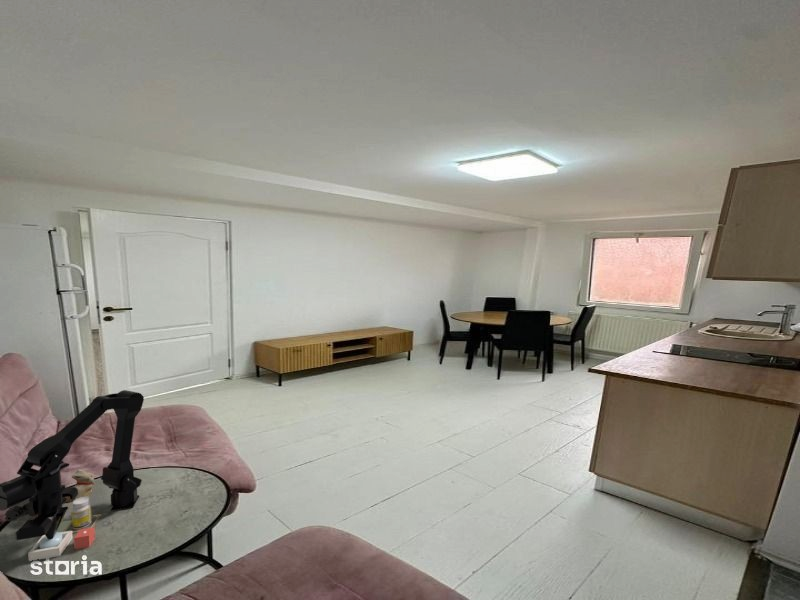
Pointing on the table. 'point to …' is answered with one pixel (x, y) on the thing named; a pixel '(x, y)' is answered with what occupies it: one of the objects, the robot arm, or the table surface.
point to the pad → (63, 526)
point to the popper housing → (50, 552)
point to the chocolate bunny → (82, 484)
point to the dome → (51, 541)
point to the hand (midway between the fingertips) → (51, 538)
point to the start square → (90, 527)
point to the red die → (84, 538)
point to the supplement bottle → (81, 513)
